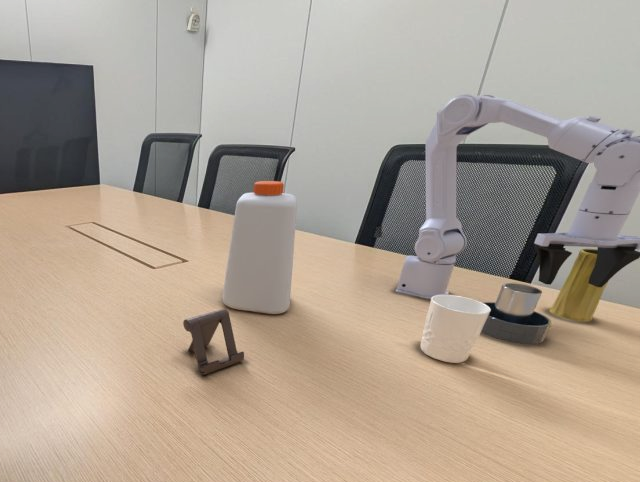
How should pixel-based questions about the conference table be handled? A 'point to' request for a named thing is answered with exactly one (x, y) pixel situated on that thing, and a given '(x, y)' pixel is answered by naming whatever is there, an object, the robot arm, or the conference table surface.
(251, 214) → the plastic bottle
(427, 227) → the robot arm
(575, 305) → the vase
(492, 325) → the dark grey shallow bowl
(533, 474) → the conference table surface
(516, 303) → the silver cup
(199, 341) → the tablet stand
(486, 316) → the white cup
